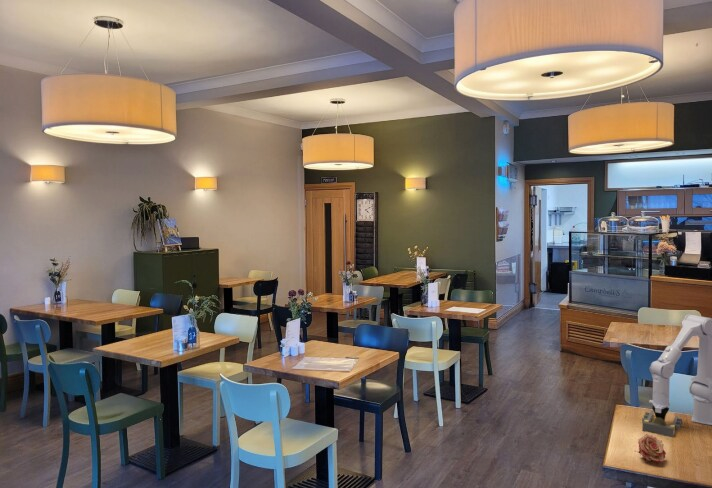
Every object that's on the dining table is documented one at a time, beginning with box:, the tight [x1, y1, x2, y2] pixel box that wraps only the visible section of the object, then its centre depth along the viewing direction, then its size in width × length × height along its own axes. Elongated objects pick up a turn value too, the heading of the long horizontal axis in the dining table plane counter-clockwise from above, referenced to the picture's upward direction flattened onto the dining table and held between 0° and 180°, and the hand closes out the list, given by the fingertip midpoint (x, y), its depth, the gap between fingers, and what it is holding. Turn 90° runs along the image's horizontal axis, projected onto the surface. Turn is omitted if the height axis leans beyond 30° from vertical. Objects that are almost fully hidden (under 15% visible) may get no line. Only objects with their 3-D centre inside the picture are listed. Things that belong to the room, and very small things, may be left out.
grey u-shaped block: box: [641, 410, 683, 438], centre depth 217 cm, size 13×20×3 cm, turn 144°
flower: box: [634, 433, 667, 464], centre depth 187 cm, size 10×9×8 cm
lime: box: [651, 416, 667, 425], centre depth 212 cm, size 4×5×5 cm
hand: (660, 425), depth 214 cm, fingers closed, pressing on lime
